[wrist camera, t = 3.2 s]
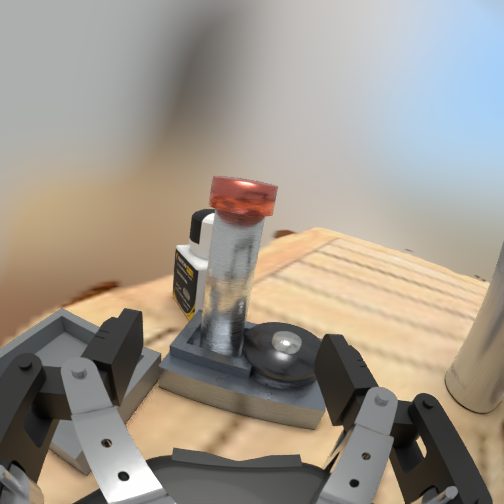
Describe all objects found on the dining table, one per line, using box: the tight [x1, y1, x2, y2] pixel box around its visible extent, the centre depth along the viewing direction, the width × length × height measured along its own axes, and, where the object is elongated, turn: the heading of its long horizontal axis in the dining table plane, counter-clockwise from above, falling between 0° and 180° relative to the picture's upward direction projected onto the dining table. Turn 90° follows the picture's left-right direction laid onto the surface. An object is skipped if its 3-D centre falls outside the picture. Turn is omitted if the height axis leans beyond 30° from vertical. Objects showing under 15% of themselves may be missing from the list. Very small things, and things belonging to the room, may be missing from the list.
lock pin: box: [200, 176, 278, 357], centre depth 21 cm, size 5×5×14 cm
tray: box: [0, 308, 161, 475], centre depth 16 cm, size 12×12×2 cm
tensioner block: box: [158, 309, 325, 429], centre depth 23 cm, size 13×10×5 cm
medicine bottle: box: [173, 209, 215, 321], centre depth 32 cm, size 7×7×12 cm
